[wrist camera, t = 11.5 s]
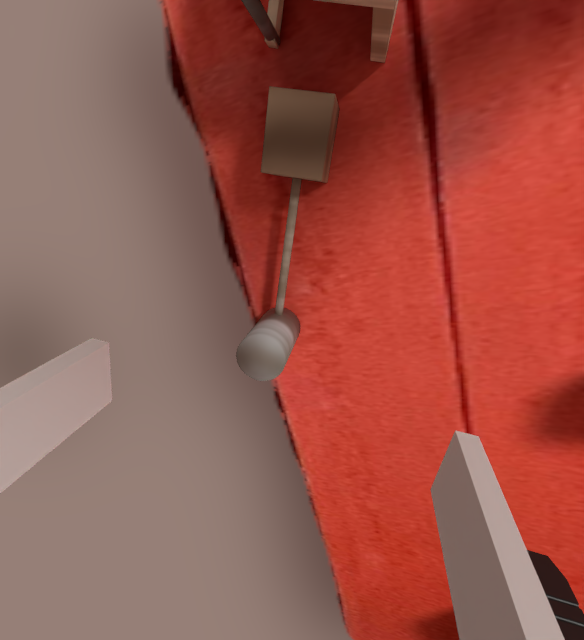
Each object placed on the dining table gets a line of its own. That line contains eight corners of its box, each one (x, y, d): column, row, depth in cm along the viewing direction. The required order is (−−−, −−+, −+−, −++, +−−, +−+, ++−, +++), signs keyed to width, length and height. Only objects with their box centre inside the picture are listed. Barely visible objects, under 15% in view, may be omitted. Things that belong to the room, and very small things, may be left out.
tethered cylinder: (283, 102, 31) (258, 73, 24) (339, 109, 30) (332, 82, 23) (256, 340, 39) (231, 374, 32) (299, 349, 39) (284, 386, 31)
